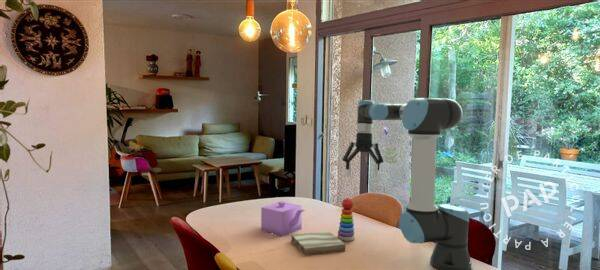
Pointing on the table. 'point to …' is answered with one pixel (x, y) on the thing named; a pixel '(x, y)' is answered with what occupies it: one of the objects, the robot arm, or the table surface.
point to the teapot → (281, 218)
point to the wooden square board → (318, 243)
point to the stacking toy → (346, 221)
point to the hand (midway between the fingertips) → (362, 176)
